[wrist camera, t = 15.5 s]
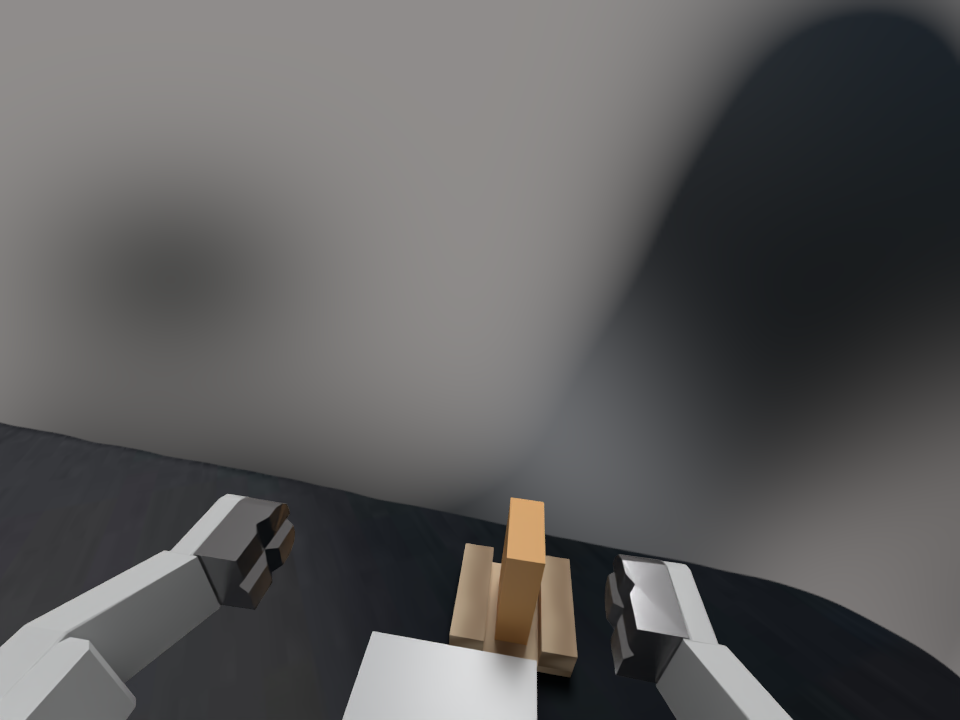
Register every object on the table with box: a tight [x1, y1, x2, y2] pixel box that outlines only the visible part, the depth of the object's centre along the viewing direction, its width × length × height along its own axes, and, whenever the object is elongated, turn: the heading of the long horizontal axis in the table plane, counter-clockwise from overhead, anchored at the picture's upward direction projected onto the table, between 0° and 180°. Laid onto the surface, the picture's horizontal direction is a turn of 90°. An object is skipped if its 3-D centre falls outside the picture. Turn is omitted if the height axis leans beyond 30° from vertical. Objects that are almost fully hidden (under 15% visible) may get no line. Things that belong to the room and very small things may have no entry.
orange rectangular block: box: [494, 498, 545, 645], centre depth 35 cm, size 3×6×12 cm, turn 173°
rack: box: [449, 543, 577, 677], centre depth 38 cm, size 11×9×4 cm
